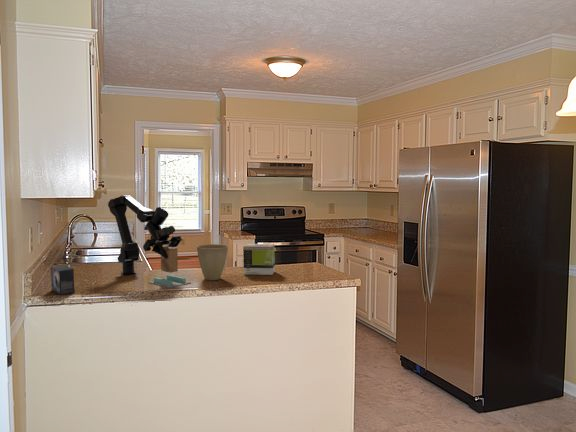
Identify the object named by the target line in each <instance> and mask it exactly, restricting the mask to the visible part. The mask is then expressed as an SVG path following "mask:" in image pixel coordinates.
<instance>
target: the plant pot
mask: <svg viewBox="0 0 576 432" xmlns="http://www.w3.org/2000/svg"><path fill="white" fill-rule="evenodd" d="M228 248H229V246H228V245H227V244H219V243H217V244H215V243H214V244H212V243H211V244H210V243H209V244H202V245H201V244H200V245H196V251H197V257H198V262H199V266H200V269H201V272H202V275H203V278H204V280H207V281H217V280H220V279H221V277H222V274H223V271H224V269H225V265H226V261H227V257H228Z"/></svg>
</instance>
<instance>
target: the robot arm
mask: <svg viewBox="0 0 576 432" xmlns="http://www.w3.org/2000/svg"><path fill="white" fill-rule="evenodd" d="M107 206H108V208H109V212H110V213H111V214H112V215H113V216H114V217H115V220H116V225H117V228H118V232H119V236H120V239H121V243H122V244H121V247H120V253H119V254H118V257H117V262H118V263H122V264H121V266H122V271H120V274H121V275H123V276H126V275H135V274H136V275H137V272H136V271H135V262H138V261H139V258H140V248H139V243H137V242H135V241H133V238H132V235H131V231H130V226H129V223H128V220H127V216H126V213H127V209H128V208H129V209H130V210H131V211H132V212H134V213H135V214H136V218H137V219H138V221H139V222H140V223H146V224H145V225H144V228H143V229H144V231H148V232H149V234H150V238H149V239H148V238H147V240H146V241H145V242H144V244H143V245H142V248H143V251H144V252H149V251H151V252H154V253H156V254H158V255H160V257H161V256H163V257H164V258H166V259H167V258H168V256H167V254H166V252H165V250H164V248H163V247H164V246H169V247H175V248H178V246H179V244H180V243H181V242H182V241H183V239H182V237H181V235H175V236H174V235H172V234H174V233H175V232H176V229H175V227H174V225H169V226H165V227H161V226H162V225H164V223H165V221H166V220H167V218H168V217H169V213H168V211H167V210H166V209H164V208H162V207H161V206H158V207H156V208H155V210H154V209H152V208H149V207H145V206H144V205H142V204H141V203H140V202H138V201H137V199H135V198H133V196H132V194H131V195H129V194H123V195H120V196H117V197H115V198H111V199H109V201H108V202H107ZM170 235H172V237H171V238H170ZM169 238H170V239H169Z"/></svg>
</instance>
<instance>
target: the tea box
mask: <svg viewBox="0 0 576 432" xmlns="http://www.w3.org/2000/svg"><path fill="white" fill-rule="evenodd" d="M242 247H243V248H242V251H243V256H242V257H243V258H242V261H243V265H242V266H243V275H256V276H257V275H261V276H262V275H263V276H267V275H268V276H272V275H274V273H275V272H274V271H275V269H276V268H275V267H276V263H275V262H276V259H275V257H276V256H275V252H276V251H275V249H276V248H275V247H276V246H275V244H273V243H246V244H245V245H243V246H242Z"/></svg>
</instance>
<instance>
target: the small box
mask: <svg viewBox="0 0 576 432" xmlns="http://www.w3.org/2000/svg"><path fill="white" fill-rule="evenodd" d="M74 270H75V268H73V267H70V266H67V265H66V264H65V265H58V266H57V265H56V266H50V279H51V280H50V281H51V282H50V283H51V291H52V292H54V293H56V294H58V295H59V296H63V295H68V294H75V292H76V291H75V275H74V274H75V271H74Z"/></svg>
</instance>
